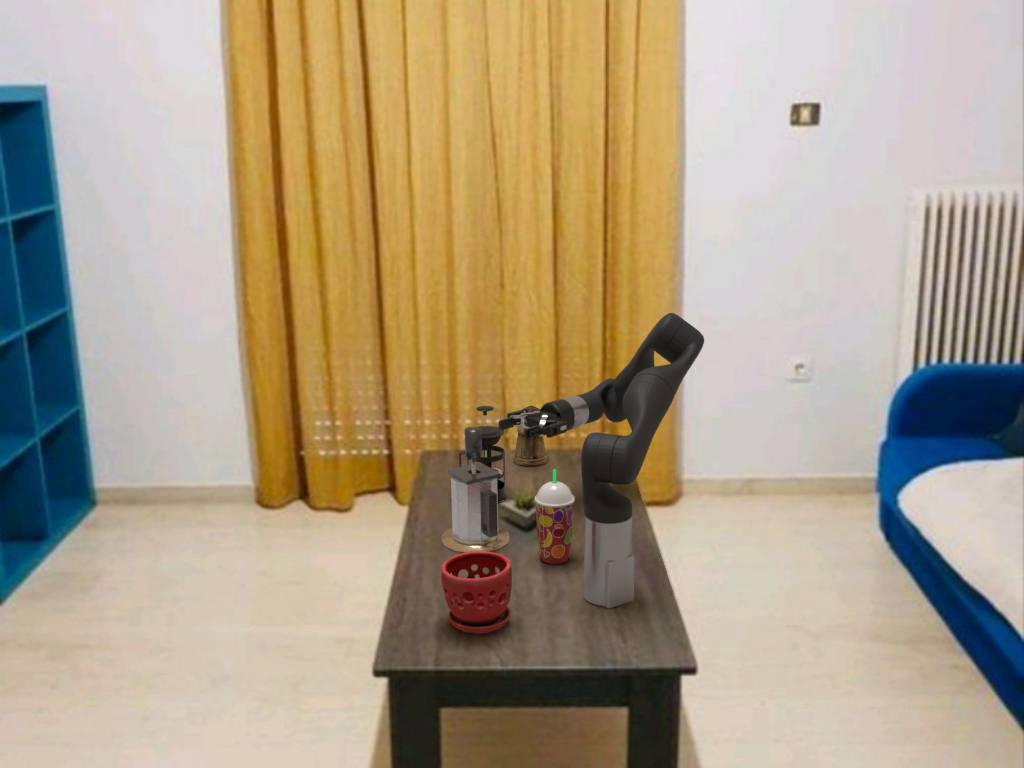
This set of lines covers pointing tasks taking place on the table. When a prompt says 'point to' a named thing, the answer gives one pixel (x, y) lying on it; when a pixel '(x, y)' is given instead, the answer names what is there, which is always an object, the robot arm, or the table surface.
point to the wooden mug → (529, 447)
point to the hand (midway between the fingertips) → (512, 429)
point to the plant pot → (477, 591)
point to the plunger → (473, 445)
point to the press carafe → (474, 511)
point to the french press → (488, 441)
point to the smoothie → (554, 521)
